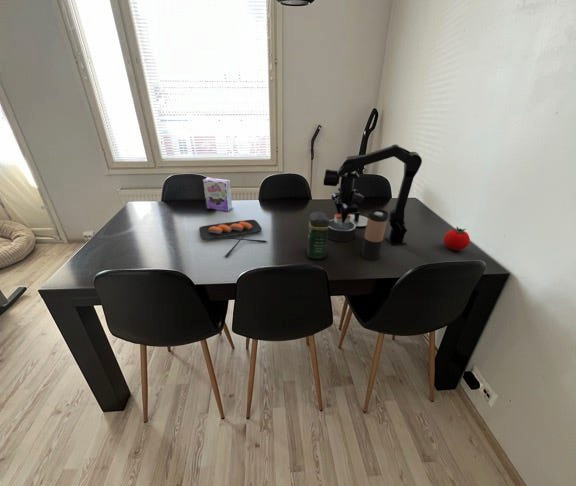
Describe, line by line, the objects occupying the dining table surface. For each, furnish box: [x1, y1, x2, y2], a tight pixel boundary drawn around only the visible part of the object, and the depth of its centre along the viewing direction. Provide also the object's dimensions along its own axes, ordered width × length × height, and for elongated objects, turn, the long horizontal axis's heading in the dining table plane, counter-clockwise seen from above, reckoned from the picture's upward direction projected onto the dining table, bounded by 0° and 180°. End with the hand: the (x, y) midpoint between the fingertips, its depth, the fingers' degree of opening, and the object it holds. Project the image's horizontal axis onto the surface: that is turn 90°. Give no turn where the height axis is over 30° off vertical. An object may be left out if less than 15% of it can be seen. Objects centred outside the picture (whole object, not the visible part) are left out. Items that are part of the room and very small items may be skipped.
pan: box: [327, 218, 357, 242], centre depth 142 cm, size 14×14×6 cm
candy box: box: [202, 176, 233, 212], centre depth 163 cm, size 14×6×16 cm, turn 73°
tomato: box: [443, 226, 471, 251], centre depth 132 cm, size 10×10×10 cm
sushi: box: [333, 213, 351, 223], centre depth 139 cm, size 7×4×3 cm, turn 102°
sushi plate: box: [198, 219, 267, 258], centre depth 136 cm, size 29×30×4 cm
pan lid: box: [349, 210, 368, 228], centre depth 155 cm, size 15×15×6 cm
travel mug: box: [361, 208, 389, 260], centre depth 122 cm, size 8×8×20 cm
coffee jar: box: [306, 211, 330, 260], centre depth 122 cm, size 10×8×19 cm
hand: (342, 219), depth 139 cm, fingers closed on sushi, 3 cm apart
